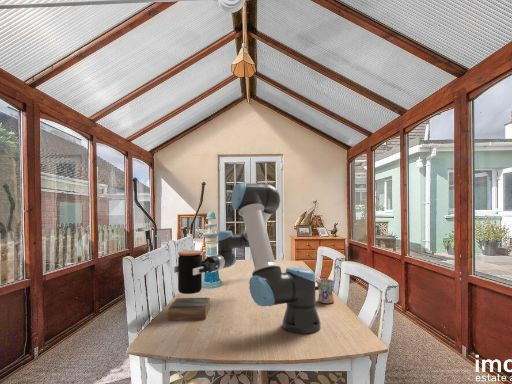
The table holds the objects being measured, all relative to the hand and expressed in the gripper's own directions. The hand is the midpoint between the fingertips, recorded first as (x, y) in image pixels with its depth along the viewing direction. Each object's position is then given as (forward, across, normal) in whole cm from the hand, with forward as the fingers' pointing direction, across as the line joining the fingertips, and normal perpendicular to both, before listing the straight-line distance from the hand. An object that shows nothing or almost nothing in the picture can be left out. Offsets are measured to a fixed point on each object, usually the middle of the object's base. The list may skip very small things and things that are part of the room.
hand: (183, 270), depth 147 cm
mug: (-52, -48, -20) cm, 74 cm away
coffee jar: (-4, 0, -10) cm, 11 cm away
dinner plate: (-79, -24, -21) cm, 85 cm away
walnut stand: (-4, 0, -20) cm, 21 cm away
